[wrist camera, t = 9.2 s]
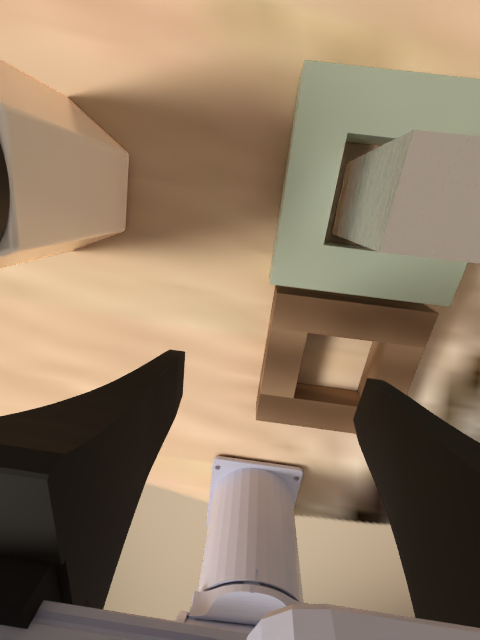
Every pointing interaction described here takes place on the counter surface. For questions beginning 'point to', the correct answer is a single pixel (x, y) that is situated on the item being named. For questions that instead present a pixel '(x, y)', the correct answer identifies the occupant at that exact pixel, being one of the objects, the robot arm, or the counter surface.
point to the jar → (54, 173)
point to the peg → (415, 197)
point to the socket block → (341, 321)
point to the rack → (324, 164)
